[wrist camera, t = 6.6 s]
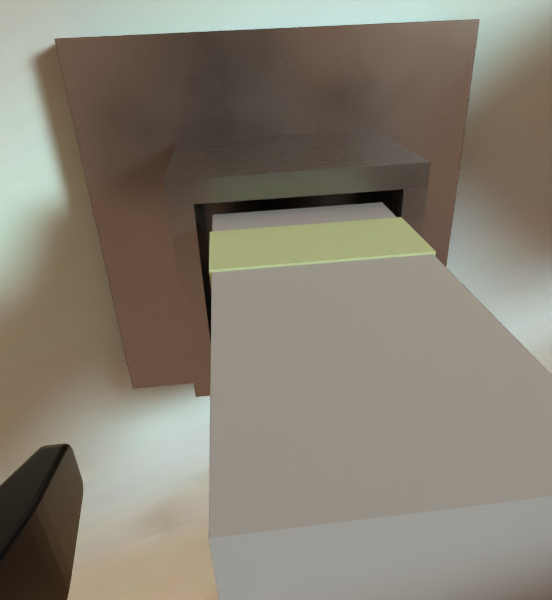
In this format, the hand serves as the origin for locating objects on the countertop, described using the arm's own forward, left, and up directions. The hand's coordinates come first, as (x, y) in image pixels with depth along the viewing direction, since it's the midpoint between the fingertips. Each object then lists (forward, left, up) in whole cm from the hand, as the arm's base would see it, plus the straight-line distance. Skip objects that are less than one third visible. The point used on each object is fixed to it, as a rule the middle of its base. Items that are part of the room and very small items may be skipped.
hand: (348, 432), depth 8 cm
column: (0, 0, -6) cm, 6 cm away
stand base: (0, 0, -11) cm, 11 cm away
